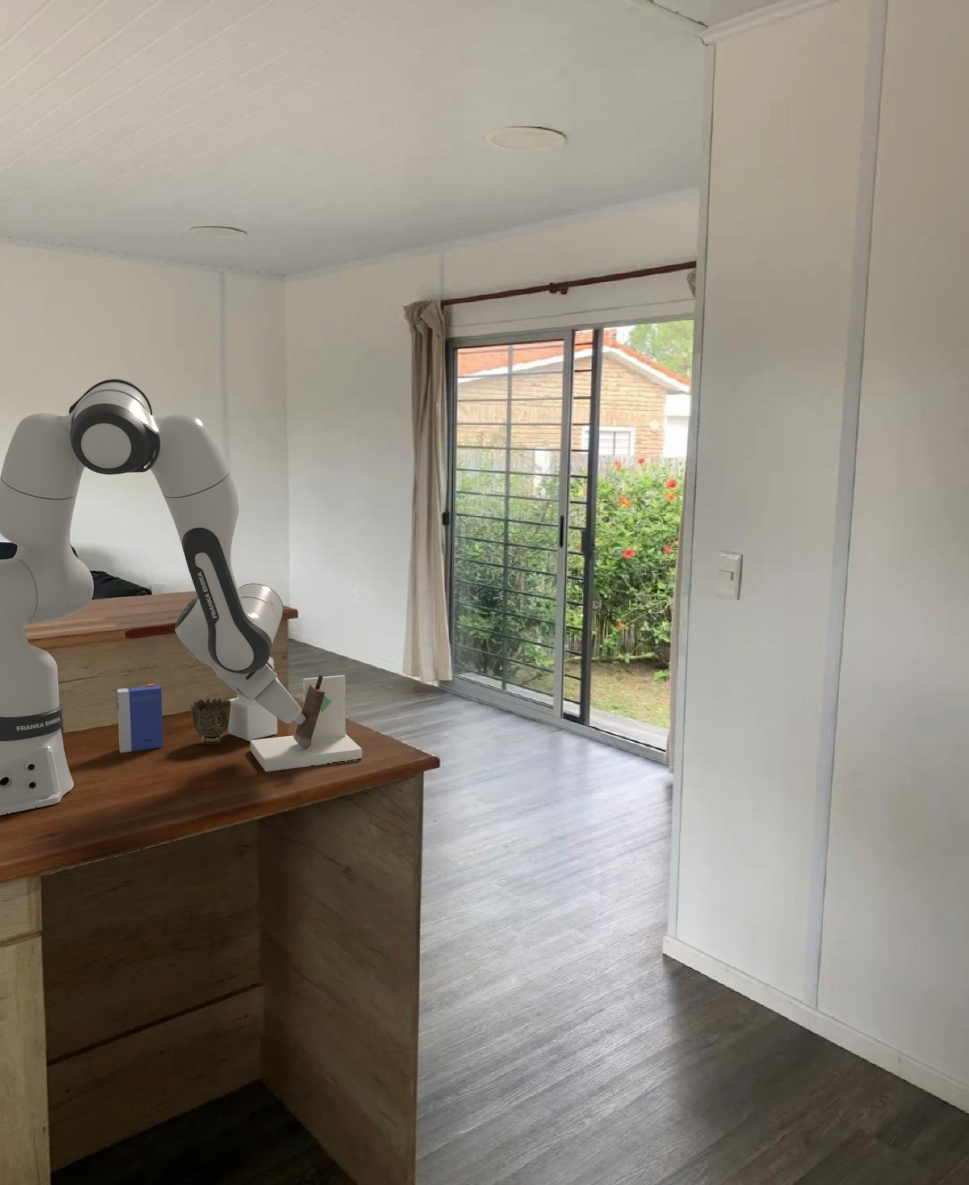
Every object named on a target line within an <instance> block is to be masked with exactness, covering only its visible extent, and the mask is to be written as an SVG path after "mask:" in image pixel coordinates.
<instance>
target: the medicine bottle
mask: <svg viewBox="0 0 969 1185" xmlns="http://www.w3.org/2000/svg"><path fill="white" fill-rule="evenodd" d="M229 700H230V704H231V706H230V717H229V724H228V728H227V730H228V734H230V735H232V736H235V737H238V738H240V739H242V740H245V741H248V742H250V740H258V739H263V738H266V737H270V736H274V735H277V734H278V718H277V717H276V716H275V715H273V714H272V713H271V712H269V711H268V710H267V709H265V708H264V707H263V706H261V705H260V704H259V703H257V702H256V701H255V700H253V701H250V700H249V699H247V698H246V697H245V696H242V695H238V694H237V693H236V698H229V699H228V700H227V702H228V701H229Z"/></svg>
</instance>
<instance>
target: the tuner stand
mask: <svg viewBox="0 0 969 1185" xmlns="http://www.w3.org/2000/svg"><path fill="white" fill-rule="evenodd" d="M318 677H319V676H318ZM318 677H308V678H302V680H303V682H302V684H303V685H302V686H303V688H302V689H303V692H302V693H303V704H304V703H305V699H306V696H307V692H308V689H309V686H310V685H314V686H316V684H317V680H318ZM320 689H322V690H323V691H324V692H325V695H324V698H323V701H322V705H321V708H320V712H319V715H318V718H317V722H316V725H315V729H314V732H313V735H312V739H311V746H310V747H309V748H308V749H303V748H302V747H301V746H300V745H299V744H298V743H297V742H296V740H295V739H294V734H293V735H288V736H287V735H286V736H277V737H276V736H275V737H268V738H258V739H254V740H250V741H249V742H250V752H251V753H252V754H253V756H254V758H255V759H256V760H257V762H258V763H259V764H260V766H261V767H262V768H263V770H264V772H274V771H281V770H288V769H289V770H290V769H297V768H304V767H312V766H311V765H314V766H319V765H320V766H322V765H328V764H327V763H330V764H333V763H332V762H337V761H345V762H348V761H347V760H351V759H358V758H361V757H362V758H363V749H362V748H361V747H360V746H359V745H358V744H357V743H356V742H355V741H354V740H353V739H352V738H351V737H350V736H348V735H347V733H346V675H344V674H340V675H330V676H323V679H322V682H321V686H320Z"/></svg>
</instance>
